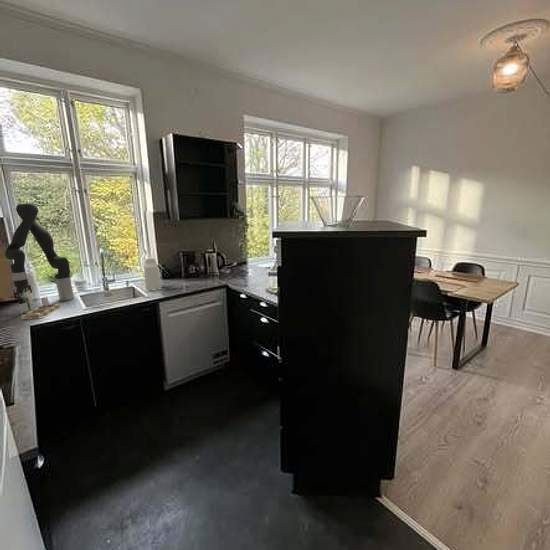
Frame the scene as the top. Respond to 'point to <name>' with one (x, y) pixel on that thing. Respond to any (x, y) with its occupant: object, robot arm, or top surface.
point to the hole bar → (40, 311)
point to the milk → (152, 274)
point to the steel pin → (45, 302)
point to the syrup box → (26, 303)
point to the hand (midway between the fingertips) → (25, 302)
